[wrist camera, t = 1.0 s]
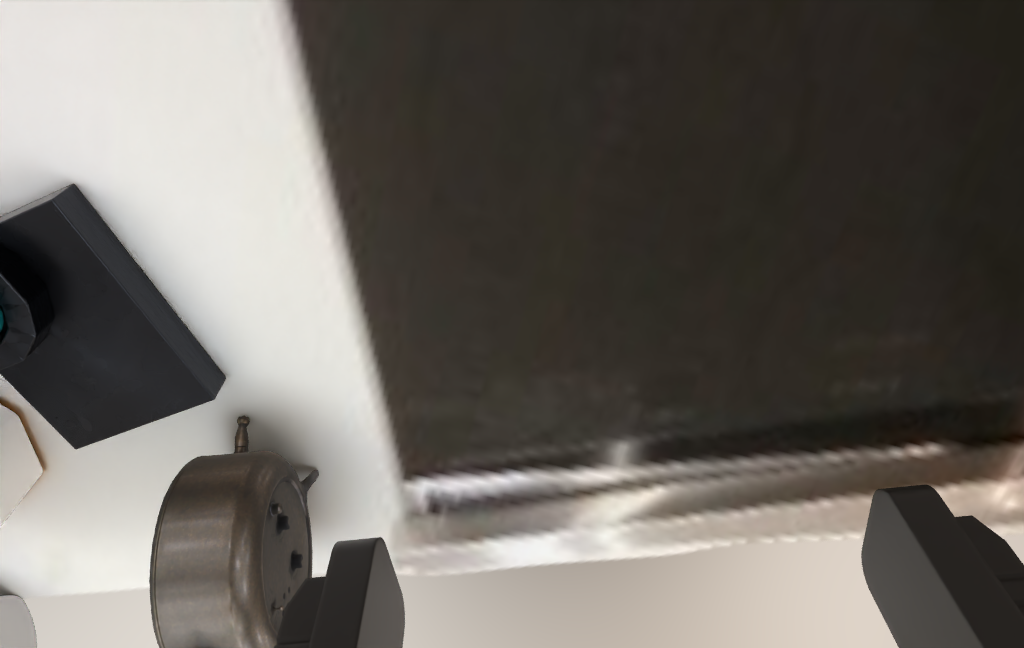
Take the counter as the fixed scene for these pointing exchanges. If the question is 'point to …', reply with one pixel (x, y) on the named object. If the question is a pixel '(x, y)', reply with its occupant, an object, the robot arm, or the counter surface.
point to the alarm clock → (229, 549)
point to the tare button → (1, 320)
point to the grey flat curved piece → (16, 624)
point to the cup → (15, 463)
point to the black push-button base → (90, 326)
